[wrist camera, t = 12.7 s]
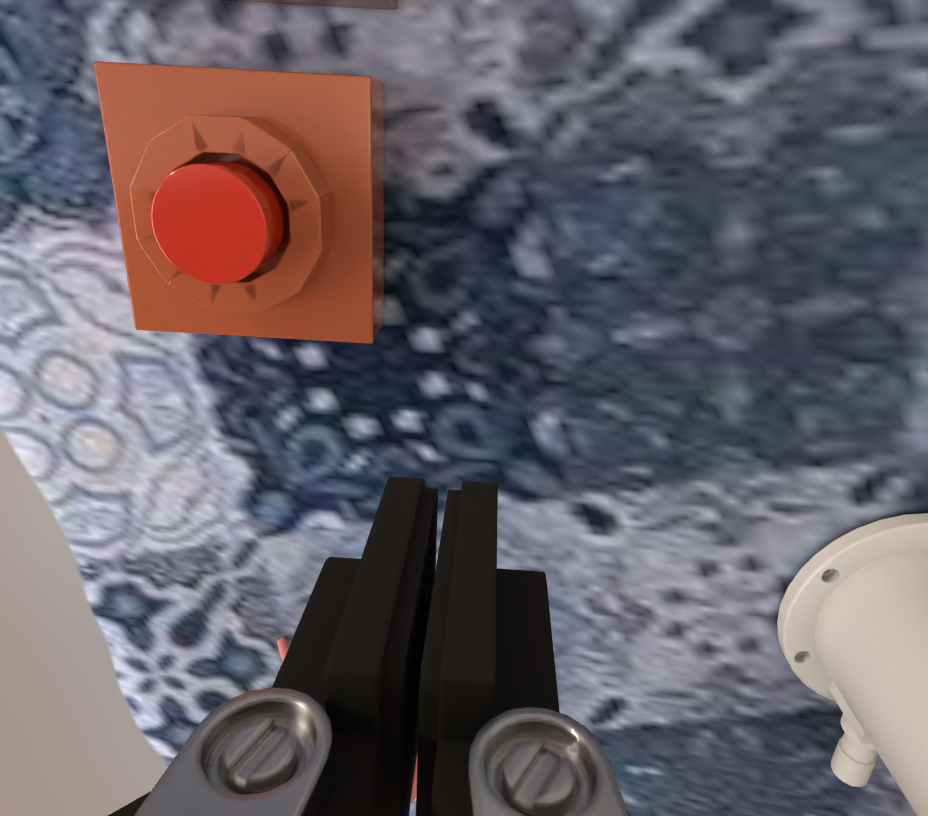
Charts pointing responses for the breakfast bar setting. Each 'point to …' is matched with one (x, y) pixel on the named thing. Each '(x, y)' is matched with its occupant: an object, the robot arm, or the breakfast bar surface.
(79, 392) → the breakfast bar surface
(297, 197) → the button base
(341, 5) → the base
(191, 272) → the red button
